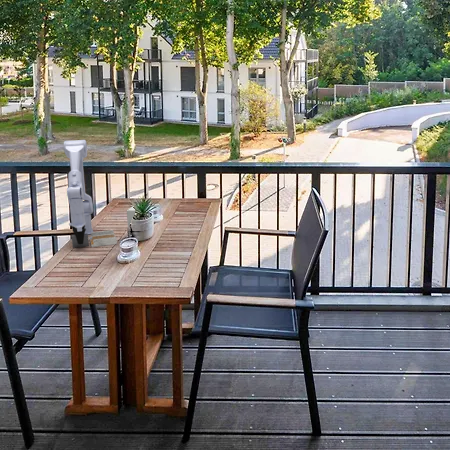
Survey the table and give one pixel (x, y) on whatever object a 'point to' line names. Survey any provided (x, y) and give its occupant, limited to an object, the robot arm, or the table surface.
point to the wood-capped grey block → (75, 243)
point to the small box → (130, 214)
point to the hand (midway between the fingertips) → (80, 242)
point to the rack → (103, 238)
